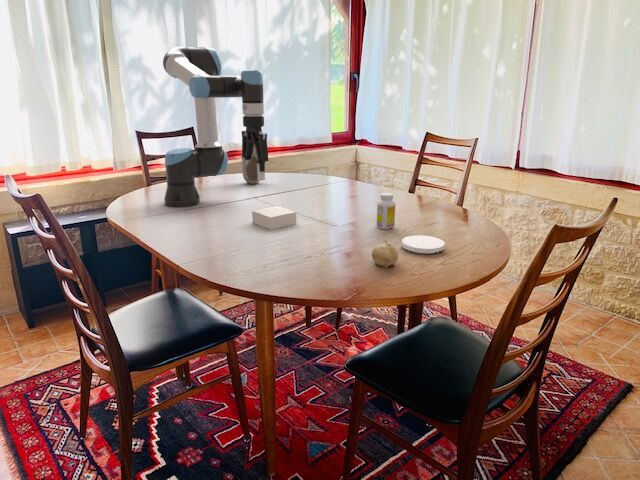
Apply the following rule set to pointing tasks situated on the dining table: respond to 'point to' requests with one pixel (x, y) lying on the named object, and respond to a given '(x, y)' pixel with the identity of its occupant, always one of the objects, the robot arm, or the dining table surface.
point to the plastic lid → (423, 244)
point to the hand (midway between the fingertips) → (255, 178)
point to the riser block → (274, 217)
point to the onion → (385, 254)
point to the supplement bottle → (386, 211)
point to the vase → (252, 169)
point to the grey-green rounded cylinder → (245, 168)
